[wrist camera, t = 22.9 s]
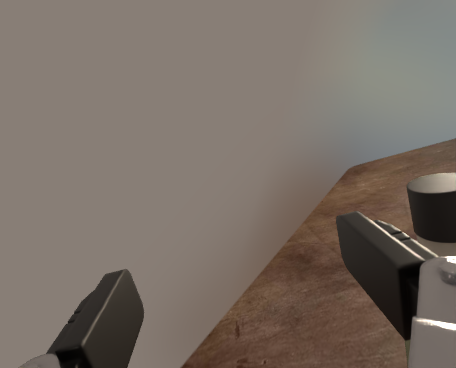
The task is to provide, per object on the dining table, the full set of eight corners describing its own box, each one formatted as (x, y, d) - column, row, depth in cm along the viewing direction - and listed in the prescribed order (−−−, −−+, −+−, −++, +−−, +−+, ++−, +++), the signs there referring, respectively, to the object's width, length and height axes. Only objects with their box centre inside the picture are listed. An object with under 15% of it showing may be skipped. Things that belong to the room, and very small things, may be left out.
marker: (442, 403, 19) (407, 196, 16) (437, 362, 22) (405, 177, 18) (508, 418, 17) (483, 188, 14) (493, 372, 20) (470, 169, 17)
